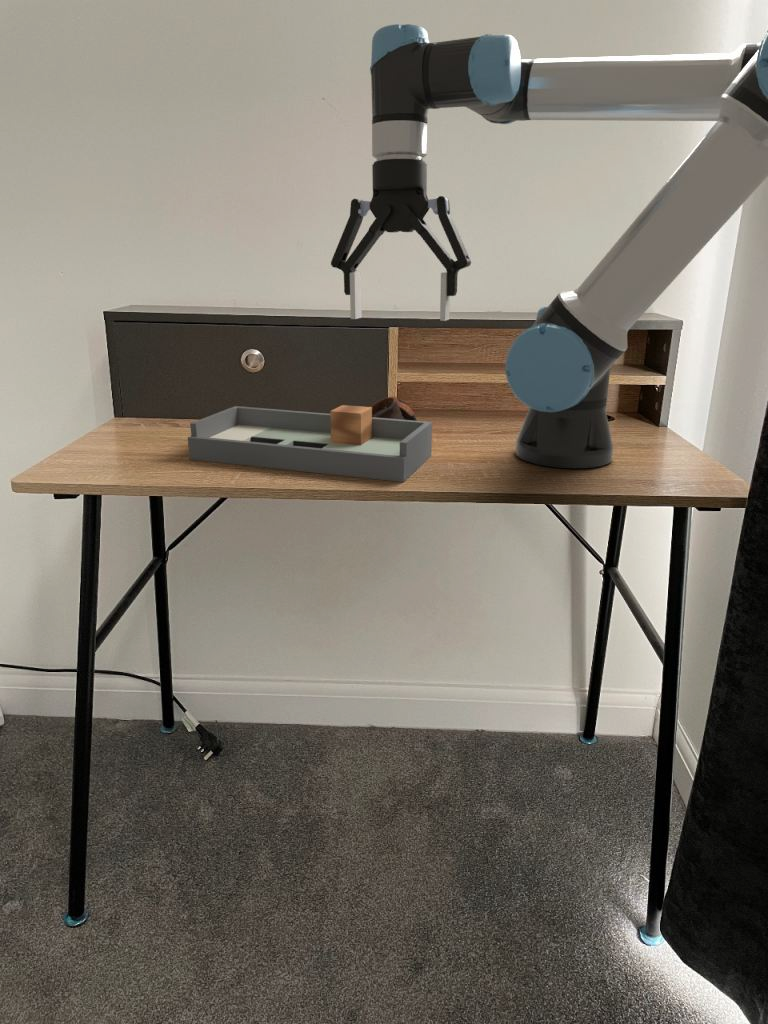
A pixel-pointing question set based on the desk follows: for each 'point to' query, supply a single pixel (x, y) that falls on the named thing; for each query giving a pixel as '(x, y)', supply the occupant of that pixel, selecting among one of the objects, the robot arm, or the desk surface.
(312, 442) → the box
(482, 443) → the desk surface
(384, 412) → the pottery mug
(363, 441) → the block
